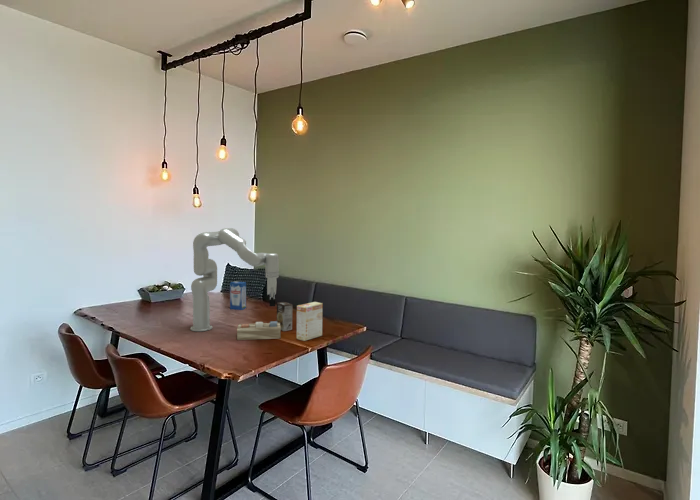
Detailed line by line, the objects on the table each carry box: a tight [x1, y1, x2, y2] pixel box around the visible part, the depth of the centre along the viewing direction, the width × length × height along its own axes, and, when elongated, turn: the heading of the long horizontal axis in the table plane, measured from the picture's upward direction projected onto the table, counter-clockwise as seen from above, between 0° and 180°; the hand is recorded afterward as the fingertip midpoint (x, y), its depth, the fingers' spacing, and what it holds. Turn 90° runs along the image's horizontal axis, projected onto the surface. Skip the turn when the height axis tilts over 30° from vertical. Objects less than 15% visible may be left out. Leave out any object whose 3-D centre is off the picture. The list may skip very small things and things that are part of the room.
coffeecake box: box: [296, 301, 324, 342], centre depth 235 cm, size 15×7×20 cm, turn 141°
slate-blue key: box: [269, 320, 277, 327], centre depth 236 cm, size 4×4×4 cm
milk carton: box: [229, 281, 247, 311], centre depth 303 cm, size 10×6×20 cm, turn 73°
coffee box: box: [276, 301, 293, 332], centre depth 251 cm, size 9×6×16 cm
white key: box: [255, 321, 264, 327], centre depth 235 cm, size 4×4×4 cm
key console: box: [236, 322, 282, 341], centre depth 235 cm, size 12×24×6 cm, turn 102°
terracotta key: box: [241, 323, 250, 328], centre depth 233 cm, size 4×4×4 cm
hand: (272, 305), depth 235 cm, fingers closed
